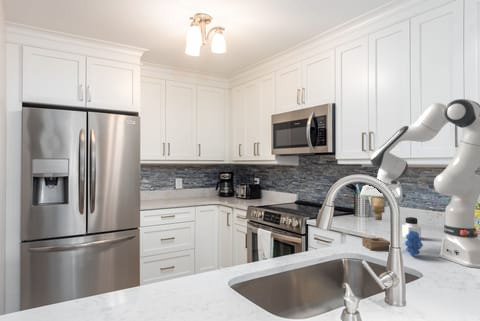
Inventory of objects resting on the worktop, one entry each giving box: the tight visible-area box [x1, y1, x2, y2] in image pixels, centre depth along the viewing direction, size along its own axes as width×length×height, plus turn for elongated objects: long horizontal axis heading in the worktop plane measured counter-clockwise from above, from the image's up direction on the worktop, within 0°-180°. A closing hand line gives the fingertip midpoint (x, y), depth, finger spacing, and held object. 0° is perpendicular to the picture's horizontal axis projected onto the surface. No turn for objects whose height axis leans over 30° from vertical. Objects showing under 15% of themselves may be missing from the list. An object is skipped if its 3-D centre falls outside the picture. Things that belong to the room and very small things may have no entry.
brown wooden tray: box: [361, 237, 391, 252], centre depth 159 cm, size 10×10×4 cm
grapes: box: [404, 230, 424, 257], centre depth 144 cm, size 12×7×12 cm, turn 125°
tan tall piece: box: [372, 198, 386, 221], centre depth 161 cm, size 6×6×11 cm
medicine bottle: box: [401, 216, 422, 240], centre depth 182 cm, size 7×7×12 cm
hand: (378, 205), depth 160 cm, fingers closed on tan tall piece, 6 cm apart
